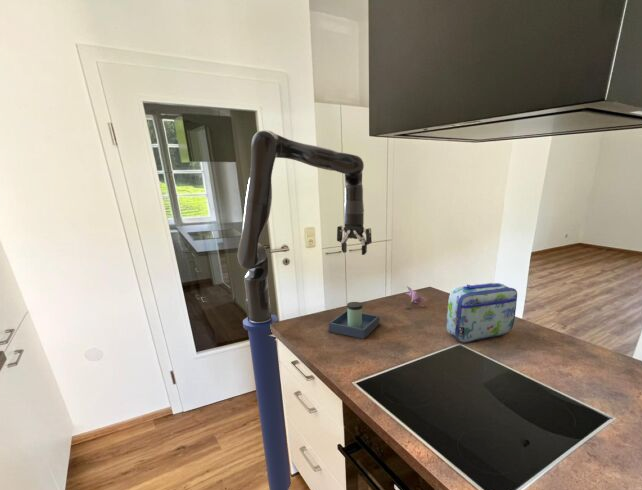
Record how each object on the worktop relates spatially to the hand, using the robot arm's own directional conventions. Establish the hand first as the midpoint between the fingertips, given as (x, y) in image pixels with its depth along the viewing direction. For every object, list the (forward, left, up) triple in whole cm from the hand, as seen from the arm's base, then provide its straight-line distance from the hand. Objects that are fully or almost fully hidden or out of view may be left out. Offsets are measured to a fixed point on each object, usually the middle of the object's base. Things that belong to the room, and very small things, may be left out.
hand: (354, 253), depth 145 cm
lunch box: (+52, +4, -28) cm, 59 cm away
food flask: (+5, -10, -27) cm, 29 cm away
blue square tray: (+5, -10, -28) cm, 30 cm away
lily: (+20, +24, -28) cm, 42 cm away
